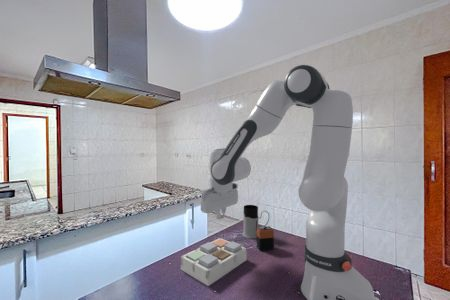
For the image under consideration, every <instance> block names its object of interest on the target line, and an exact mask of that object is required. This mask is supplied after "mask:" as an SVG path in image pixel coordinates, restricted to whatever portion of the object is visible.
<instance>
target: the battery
mask: <svg viewBox="0 0 450 300" xmlns="http://www.w3.org/2000/svg"><path fill="white" fill-rule="evenodd" d="M274 232H275V231H274V229H273V228H272V226H269V225H268V226H267V225H266V226H265V227H264V226H262V225H261V226H258V228H257V238H256V248H257V249H258V250H259V251H260V252H261V251H262V252H264V251H272V250H274V249H275V243H274V242H275V241H274V240H275V235H274V234H275V233H274Z"/></svg>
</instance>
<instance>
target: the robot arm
mask: <svg viewBox="0 0 450 300" xmlns="http://www.w3.org/2000/svg"><path fill="white" fill-rule="evenodd" d="M292 106H296V107H302V108H303V107H304V108H308V109H312V113H313V115H312V116H313V120H312V127H311V128H312V129H311V137H310V138H311V139H310V147H309V153H308V157H307V160H306V165H305V168H304V172H303V176H302V180H301V183H300V185H299V187H298V197H299V199H300V202H301V203H302V204H303V206H304V207H306V208H307V209H309V212H308V215H307V219H306V222H305V224H306V225H305V226H306V227H305V233H306V234H305V235H306V237H305V239H306V240H305V245H304V254H303V257H304V262H305V264H304V265H305V266H304V273H303V277H302V283H301V284H300V291H301V294H302V295H303V296H304V297H305V298H306V300H380V298H379V297H377V296H375V293H374V289H373V286H372V284H371V283H370V281H369V280H368V279H367V278H366V277H364V276H363V275H362V274H361V273H360V272H359V271H358V270H357V269H355V267H354V266H353V254H350V255H348V253H347V252H346V250H345V234H346V233H345V230H346V229H345V227H346V218H347V207H348V196H349V195H348V193H349V191H348V190H349V189H348V188H349V185H348V181H347V179H346V177H345V172H346V168H347V162H348V159H349V156H350V149H351V140H352V131H353V124H354V123H353V122H354V121H353V120H354V118H353V117H354V114H353V113H354V110H353V109H354V108H353V99H352V97H351V95H350V94H349V93H347V92H346V91H344V90H339V89H337V90H333V89H330V86H329V83H328V81H326V78H325V76H324V75H323V74H322V73H321V72H320V71H319V70H318V69H317V68H315V67H313V66H311V65H308V64H300V65H297V66H295V67H293V68H291V69H290V70H289V71H288V72H287V74H286V76H285V77H284V81H283V80H274V81H271V82H270V83H269V84H268V85H267V87H266V88H265V89H264V91H263V92H262V93H261V94H260V96H259V97H258V99H257V101H256V104H255V105H254V107H253V108H252V110H251V112H250V114H249V115H248V116H247V118H246V119H245V120H244V121H243V122H242V123H241V125H240V126H239V127H238V128H237V130H236V131H235V133H234V134H233V136H232V138H231V139H230V140H229V142H228V144H227V145H226V147H225V148H218V149H214V150H212V151H211V152H210V155H209V161H208V162H209V164H208V165H209V166H208V167H209V173H210V175H209V188H207V189H204V190H203V192H202V193H201V199H200V200H201V201H200V211H201V212H202V213H203V214H209V213H212V212H215V213H214V214H216V219H217V220H222V219H225V214H226V211H227V208H228V207H231V206H235V205H237V204H238V202H239V191H238V187H239V185H238V183H235V182H239V181H241V180H244V179H246V178H248V177H249V176H250V173H251V172H252V171H251V169H252V166H251V162H250V161H249V160H248V159H247V158H246V157H243V155H244V152H245V151H246V150H247V148H248V147H249V146H250V145H251V144H252V143H253V142H255V141H256V140H259V139H260V138H262V137H266V136H269V135H271V134H272V133H273V132H274V131H275V130H276V129H277V128H278V126H279V125H280V123H281V122H282V120H283V118H284V117H285V115H286V113H287V112H288V111H289V109H290V108H291V107H292Z"/></svg>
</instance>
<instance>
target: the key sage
mask: <svg viewBox="0 0 450 300" xmlns="http://www.w3.org/2000/svg"><path fill="white" fill-rule="evenodd" d="M203 256H205V254H203V253H200V252H198V251H194V252H192V253H190V254H188V255H186V257H187V258H189V259H190V260H192V261H194V262H195V261H197V260H198V259H199V258H201V257H203Z"/></svg>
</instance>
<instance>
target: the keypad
mask: <svg viewBox="0 0 450 300" xmlns="http://www.w3.org/2000/svg"><path fill="white" fill-rule="evenodd" d="M219 239H221V240H224V241H226V242H228V244H226V245H224V247H222V248H219V247H217V245H215V244H213V242H215V241H217V240H219ZM247 248H248V247H245V246H242V244H240V243H238V242H235V241H233V240H232V241H228V240H227V239H224V238H221V237H219V238H216V239H214V240H213V241H211V242H210V241H208V242H205V243H203V244H201V245H199V247H198V248H196V249H194V250H192V251H189V252H187V253H185V254H183V255H181V256H180V270H181V271H183V272H184V273H186V274H187V275H189V276H190V277H192V278H194V279H196V280H197V281H199V282H200V283H202V284H203V285H205V286H207V287H210V286H211V285H212V284H214V283H215V282H217V281H218V280H219V279H222V278H223V277H224V276H225V275H227V274H229V273H230V272H231V271H232V270H234V269H235V268H237V267H238V266H240V265H241V264H243V263H244V262H246V261H247V257H248V256H247V255H248V254H247V252H248V251H247ZM219 250H223V251H225V252H228V253H230V256H229V257H227V258H226V259H224V260H222V261H221V260H219V259H218V258H217V257H215V256H213V255H212V254H214V253H216V252H217V251H219ZM194 251H198V252H200V253H203V254H205V256H203V257H201V258H199V259H198V260H197V261H195V262H194V261H192V260H190V259H189V258H187V257H186V255H188V254H190V253H192V252H194Z"/></svg>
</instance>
